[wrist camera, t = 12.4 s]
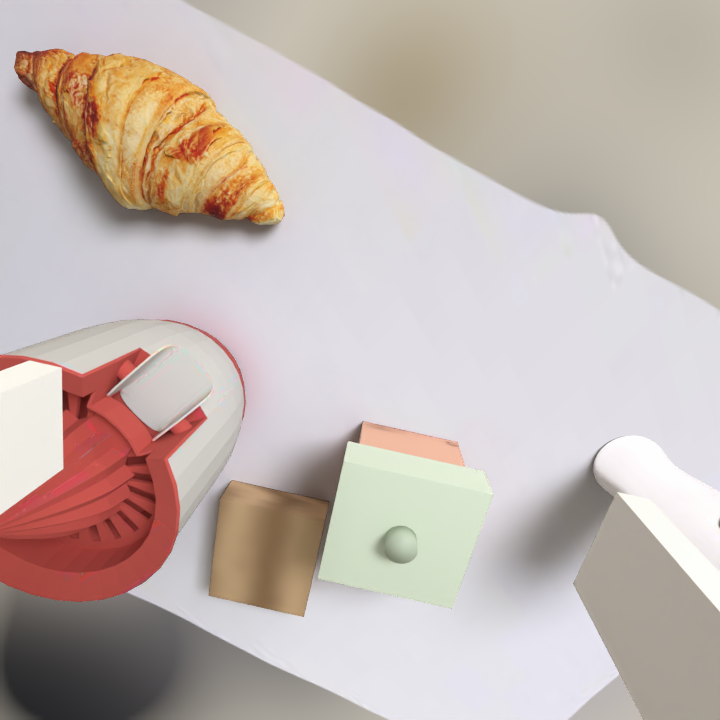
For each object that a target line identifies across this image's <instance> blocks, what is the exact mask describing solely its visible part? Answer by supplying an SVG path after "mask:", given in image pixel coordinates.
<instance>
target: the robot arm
mask: <svg viewBox="0 0 720 720" xmlns="http://www.w3.org/2000/svg"><path fill="white" fill-rule="evenodd" d="M62 469H63V414H62V368H61V367H57V366H52V365H48V364H43V363H39V362H34V361H30V360H29V361H27V362H24V363H21V364H18V365H16V366H13V367H10V368H7V369H5V370H2V371H0V515H1V514H2V513H3V512H5V511H6V510H7V509H9V508H10V507H12V506H13V505H14V504H16V503H17V502H18V501H20V500H21V499H23V498H24V497H25V496H27V495H28V494H29V493H31V492H32V491H34V490H35V489H36V488H38V487H39V486H40V485H42V484H43V483H44V482H46V481H47V480H49V479H50V478H51V477H53V476H54V475H55V474H57V473H58V472H60V471H61V470H62ZM573 584H574V586H575V588H576V590H577V592H578V594H579V596H580V598H581V600H582V602H583V604H584V606H585V608H586V609H587V611H588V613H589V615H590V617H591V619H592V621H593V623H594V625H595V627H596V629H597V631H598V633H599V635H600V637H601V639H602V641H603V642H604V644H605V646H606V648H607V650H608V652H609V654H610V656H611V658H612V660H613V662H614V664H615V666H616V668H617V670H618V672H619V674H620V675H621V677H622V679H623V681H624V683H625V685H626V687H627V689H628V691H629V693H630V695H631V697H632V699H633V701H634V703H635V705H636V707H637V709H638V710H639V712H640V714H641V716H642V718H643V720H720V572H719V571H718V570H717V569H716V568H715V567H714V566H713V565H712V564H711V563H710V562H709V561H708V560H707V559H706V558H705V557H704V556H703V555H702V554H701V553H700V552H699V551H698V550H697V548H696V547H695V546H694V545H693V544H692V543H691V542H690V541H689V540H688V539H687V538H686V537H685V536H684V535H683V534H682V533H681V532H680V531H679V530H678V529H677V528H676V527H675V526H674V524H673V523H672V522H671V521H670V520H669V519H668V518H667V517H666V516H665V515H664V514H663V513H662V512H661V511H660V510H659V509H658V508H657V507H656V506H655V505H654V504H653V503H652V502H651V500H650V499H646V498H641V497H637V496H632V495H628V494H624V493H619V492H616V495H615V497H614V499H613V501H612V503H611V505H610V507H609V509H608V511H607V513H606V516H605V518H604V520H603V522H602V524H601V526H600V528H599V530H598V532H597V534H596V537H595V539H594V541H593V543H592V545H591V547H590V549H589V551H588V553H587V555H586V558H585V560H584V562H583V564H582V566H581V568H580V570H579V572H578V574H577V576H576V579H575V581H574V583H573Z"/></svg>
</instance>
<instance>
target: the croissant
mask: <svg viewBox="0 0 720 720" xmlns="http://www.w3.org/2000/svg"><path fill="white" fill-rule="evenodd" d="M14 69H15V71H16V73H17V75H18V77H19V79H20V80H21V81H22V82H23V83H24V84H25V85H27V86H28V87H29V88H31V89H32V90H34V91H35V92H37V93H38V97H39V101H40V102H41V104H42V105H43V107H44V109H45V110H46V112H47V113H48V114H49V115H50V116H51V117H52V119H53V123H56V125H57V126H58V127H59V129H60V130H61V131H62V132H63V133H64V135H65V136H66V138H68V139H69V140H70V141H71V142H72V143H73V144H72V148H74V149H75V151H76V153H77V154H78V155H79V157H80V158H81V159H82V161H83V163H84V164H85V165H86V166H87V167H88V168H90V169H91V170H92V171H95V172H96V173H97V174H98V175H99V176H100V178H101V180H102V182H103V184H104V185H105V187H106V188H107V190H108V191H109V192H110V194H111V195H112V196H113V198H114V199H115V200H116V201H117V202H118V204H120V205H121V206H123V207H125V208H127V209H137V210H140V211H141V210H146V209H153V208H156V209H158V210H160V211H163V212H166V213H168V214H171V215H174V216H178V214H179V213H193V212H195V213H202V214H205V215H209V216H213V217H216V218H218V219H221V220H231V219H237V220H242V219H244V218H248V219H249V221H251V222H253V223H255V224H259V225H263V224H270V225H274V224H277V223H279V222H281V221H282V219H283V217H284V216H285V214H284V207H283V204H282V201H280V200H279V194H278V192H277V191H276V189H275V187H274V185H273V184H272V183H271V181H270V180H269V178H268V176H267V174H266V171H265V169H264V167H263V165H262V163H261V162H260V161H259V160H258V159H257V156H256V155H255V154H254V153H253V149H252V147H251V145H250V144H249V143H248V141H247V140H246V139H245V138H244V137H243V135H242V134H241V133H240V131H239V130H238V129H235V128H234V127H233V126H231V125H230V124H229V123H228V121H227V120H226V119H225V118H224V116H223V115H222V114H220V113H218V112H217V111H216V106H215V103H214V101H213V100H212V99H211V97H210V96H209V95H208V94H207V93H206V92H205V91H204V90H202V89H201V88H199V87H198V86H196V85H194V84H192V83H191V82H190V81H188V80H187V79H185V78H183V77H181V76H179V75H178V74H176V73H174V72H172V71H170V70H168V69H166V68H164V67H161V66H158V65H156V64H153V63H151V62H149V61H147V60H145V59H140V58H136V57H131V56H125V55H123V54H120V53H119V54H112V55H109V56H107V57H106V56H103V55H98V54H88V53H84V52H82V53H80V54H78V55H76V56H75V55H74V54H72V53H69V52H66V51H65V50H62V49H51V50H46V51H36V52H33V53H30V52H26V51H18V52H17V53H16V60H15V65H14Z"/></svg>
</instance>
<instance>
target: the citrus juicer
mask: <svg viewBox="0 0 720 720" xmlns="http://www.w3.org/2000/svg"><path fill="white" fill-rule="evenodd" d="M29 360H30V361H34V362H39V363H43V364H48V365H52V366H57V367H61V368H62V414H63V469H62V470H61V471H60V472H58V473H57V474H55V475H54V476H53V477H51V478H50V479H49V480H47V481H46V482H44V483H43V484H42V485H40V486H39V487H38V488H36V489H35V490H34V491H32V492H31V493H29V494H28V495H27V496H25V497H24V498H23V499H21V500H20V501H18V502H17V503H16V504H14V505H13V506H12V507H10V508H9V509H7V510H6V511H5V512H3V513H2V514H1V515H0V582H2V583H4V584H6V585H8V586H11V587H13V588H16V589H19V590H21V591H24V592H26V593H29V594H32V595H36V596H41V597H45V598H49V599H54V600H63V601H77V602H82V601H93V600H102V599H106V598H110V597H113V596H117V595H120V594H124V593H125V592H127V591H129V590H131V589H133V588H135V587H137V586H139V585H140V584H142V583H144V582H145V581H146V580H147V579H149V578H150V577H151V576H152V575H153V574H154V573H155V572H156V571H158V570H159V569H160V568H161V566H162V565H163V563H164V562H165V560H166V559H167V557H168V556H169V554H170V553H171V551H172V548H173V546H174V543H175V540H176V537H177V535H178V533H179V532H180V530H181V529H182V528H183V526H184V525H185V523H186V522H187V520H188V519H189V518H190V516H191V515H192V513H193V512H194V510H195V509H196V508H197V506H198V505H199V503H200V502H201V500H202V499H203V498H204V496H205V495H206V493H207V492H208V490H209V489H210V488H211V486H212V485H213V483H214V482H215V480H216V479H217V477H218V476H219V474H220V473H221V471H222V470H223V468H224V466H225V465H226V463H227V461H228V460H229V458H230V456H231V454H232V451H233V448H234V446H235V443H236V440H237V437H238V435H239V432H240V429H241V423H242V420H243V417H244V411H245V390H244V382H243V379H242V375H241V372H240V369H239V367H238V365H237V363H236V361H235V359H234V357H233V356H232V355H231V354H230V352H229V351H228V350H227V348H226V347H225V346H224V345H222V344H221V343H220V342H219V341H218V340H217V339H216V338H214V337H213V336H211V335H209V334H208V333H206V332H204V331H202V330H200V329H197V328H195V327H193V326H190V325H188V324H184V323H180V322H175V321H171V320H144V319H137V320H121V321H116V322H111V323H105V324H101V325H96V326H92V327H88V328H84V329H81V330H78V331H75V332H71V333H68V334H65V335H62V336H59V337H56V338H53V339H50V340H46V341H43V342H40V343H37V344H34V345H31V346H28V347H25V348H22V349H18V350H15V351H12V352H9V353H6V354H3V355H0V371H2V370H5V369H7V368H10V367H13V366H16V365H18V364H21V363H24V362H27V361H29Z"/></svg>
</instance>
